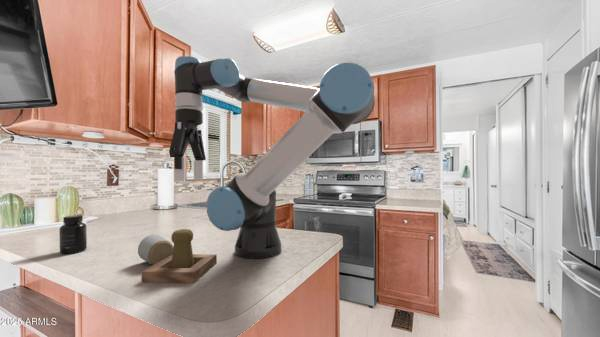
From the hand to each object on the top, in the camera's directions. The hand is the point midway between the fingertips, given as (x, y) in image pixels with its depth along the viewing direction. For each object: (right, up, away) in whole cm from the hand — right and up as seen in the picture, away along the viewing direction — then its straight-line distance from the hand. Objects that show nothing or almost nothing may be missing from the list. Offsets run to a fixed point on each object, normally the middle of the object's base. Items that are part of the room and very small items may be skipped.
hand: (190, 181), depth 75 cm
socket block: (+2, -23, -10) cm, 25 cm away
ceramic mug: (-8, -24, -1) cm, 25 cm away
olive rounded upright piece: (+2, -24, -9) cm, 26 cm away
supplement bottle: (-44, -25, +9) cm, 51 cm away
